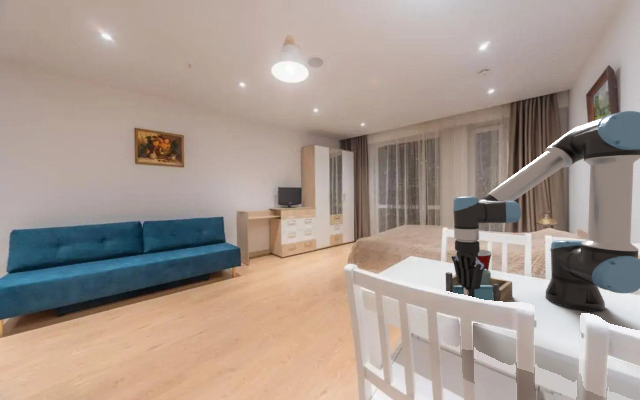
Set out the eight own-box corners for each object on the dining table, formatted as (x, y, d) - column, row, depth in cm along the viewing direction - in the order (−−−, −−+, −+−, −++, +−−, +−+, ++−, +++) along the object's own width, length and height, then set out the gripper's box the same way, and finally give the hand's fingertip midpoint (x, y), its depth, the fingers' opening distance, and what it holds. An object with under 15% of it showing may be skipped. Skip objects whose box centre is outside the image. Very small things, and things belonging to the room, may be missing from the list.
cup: (494, 298, 95) (494, 273, 95) (472, 297, 96) (472, 273, 96) (485, 291, 102) (485, 267, 102) (465, 290, 104) (464, 267, 104)
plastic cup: (462, 272, 127) (461, 249, 126) (479, 270, 129) (479, 248, 128) (479, 279, 116) (478, 254, 116) (498, 277, 118) (497, 252, 118)
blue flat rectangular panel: (490, 304, 90) (490, 285, 89) (493, 306, 88) (493, 286, 88) (453, 304, 90) (453, 285, 90) (455, 306, 89) (454, 286, 89)
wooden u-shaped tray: (512, 296, 96) (512, 275, 96) (499, 308, 87) (498, 285, 87) (461, 283, 111) (461, 265, 111) (446, 292, 102) (445, 273, 102)
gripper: (491, 242, 80) (494, 313, 80) (461, 236, 93) (463, 297, 93) (472, 244, 79) (475, 316, 79) (444, 238, 91) (446, 300, 91)
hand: (469, 306), depth 86 cm, fingers closed
